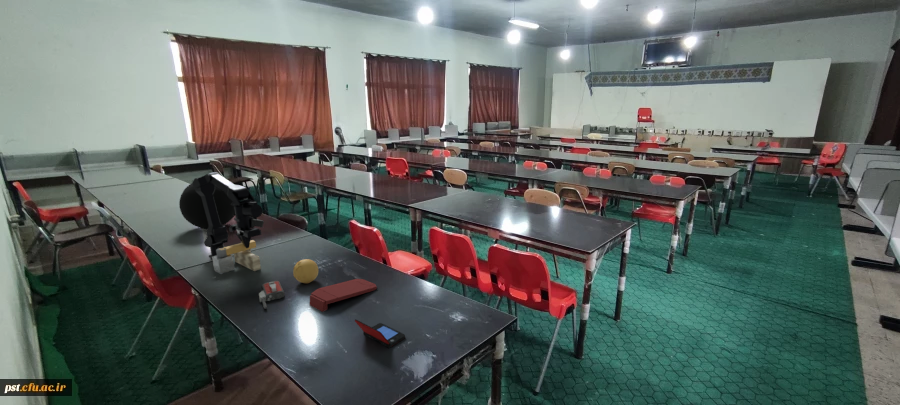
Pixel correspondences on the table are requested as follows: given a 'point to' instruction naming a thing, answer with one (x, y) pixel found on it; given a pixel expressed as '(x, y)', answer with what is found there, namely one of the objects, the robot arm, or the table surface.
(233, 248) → the bar
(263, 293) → the walkie-talkie
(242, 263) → the grey-beige crossed blocks
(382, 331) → the handheld game console
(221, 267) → the jamb post
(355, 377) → the table surface
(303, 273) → the stress ball
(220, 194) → the sphere
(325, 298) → the dark red long block
